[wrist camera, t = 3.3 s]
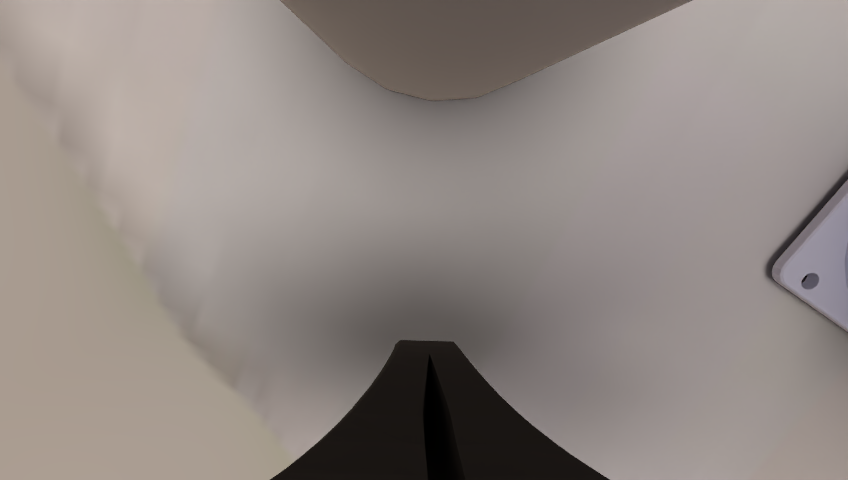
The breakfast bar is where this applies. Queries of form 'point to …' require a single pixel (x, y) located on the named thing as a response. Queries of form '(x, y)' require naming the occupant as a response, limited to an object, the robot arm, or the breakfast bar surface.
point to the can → (465, 38)
